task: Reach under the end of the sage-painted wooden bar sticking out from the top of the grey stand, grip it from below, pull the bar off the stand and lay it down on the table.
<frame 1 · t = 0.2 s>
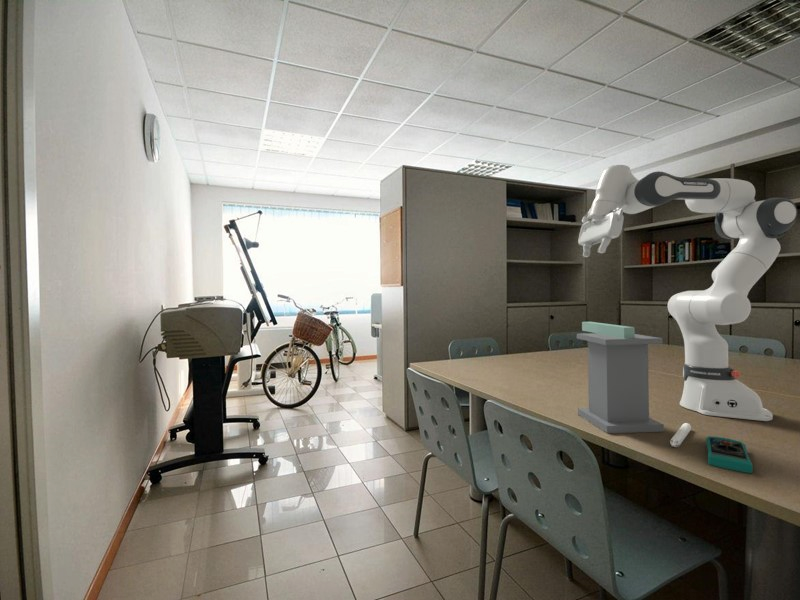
hand: (593, 254, 121), 51 cm above the table, tool tilted 15°, fingers open, 8 cm apart
stand: (617, 422, 110), on the table
bar: (605, 333, 116), point 26 cm above the table, touching stand
white rod: (680, 440, 98), on the table
digital multimeter: (727, 460, 86), on the table
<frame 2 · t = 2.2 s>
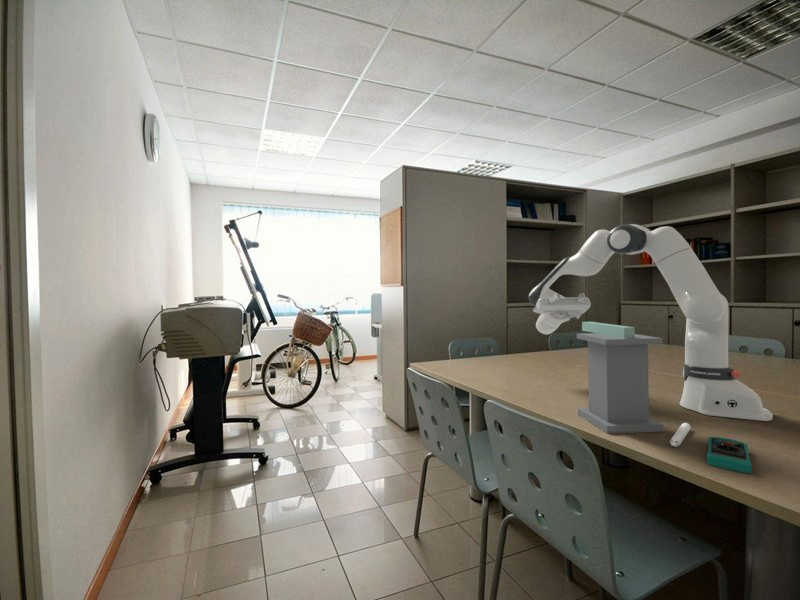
hand: (570, 295, 140), 38 cm above the table, tool pointing upward, fingers open, 8 cm apart
nothing on the table moved.
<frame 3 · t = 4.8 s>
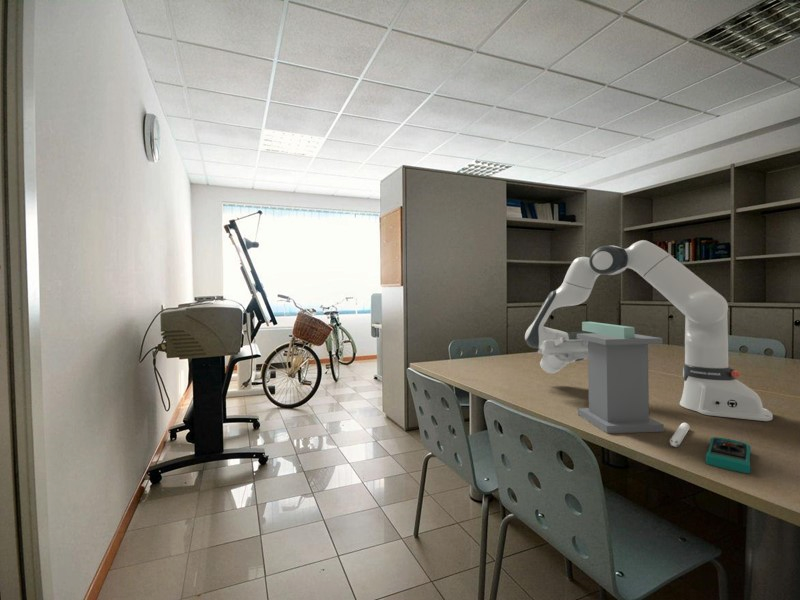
hand: (576, 338, 134), 22 cm above the table, tool pointing upward, fingers open, 8 cm apart
nothing on the table moved.
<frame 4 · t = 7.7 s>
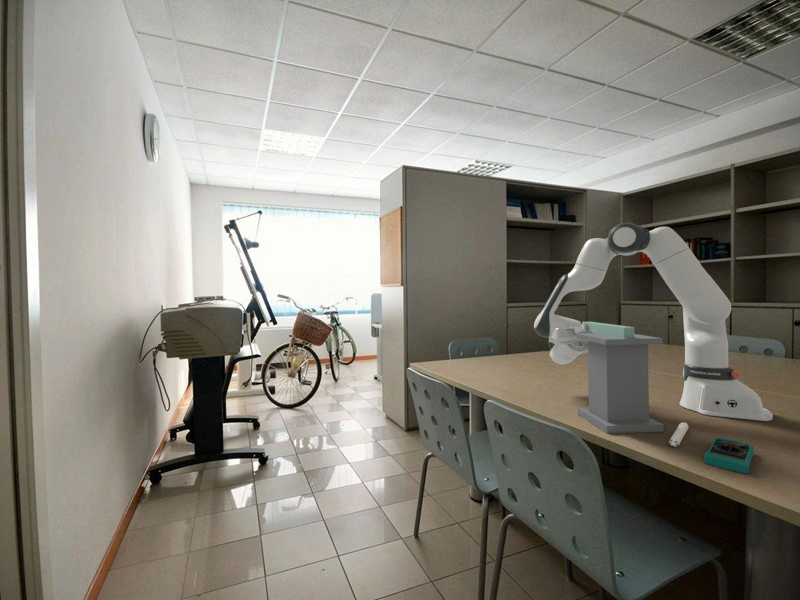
hand: (592, 325, 123), 28 cm above the table, tool pointing upward, fingers closed on bar, 3 cm apart
bar: (605, 333, 116), point 26 cm above the table, touching gripper, stand
everything else where it was.
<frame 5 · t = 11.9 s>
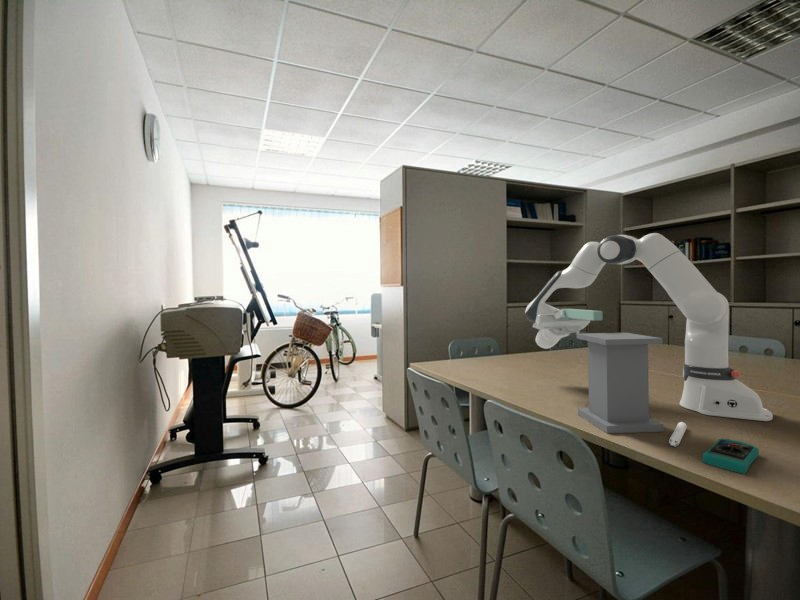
hand: (569, 311, 140), 32 cm above the table, tool pointing upward, fingers closed on bar, 3 cm apart
bar: (580, 318, 132), point 30 cm above the table, touching gripper
when the fingers open (13 cm above the table, at t = 16.2 s): bar drops 8 cm, on the table.
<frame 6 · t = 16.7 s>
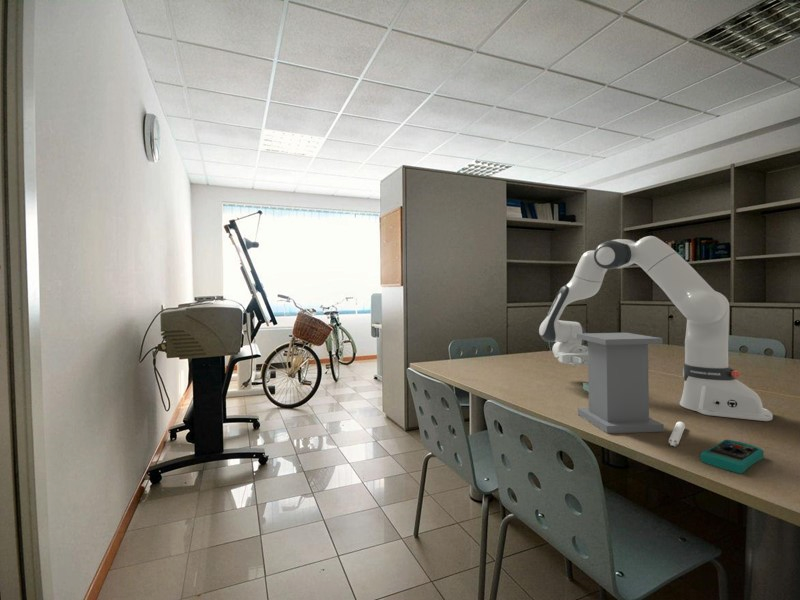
hand: (594, 360, 140), 13 cm above the table, tool horizontal, fingers open, 8 cm apart
bar: (601, 398, 137), on the table
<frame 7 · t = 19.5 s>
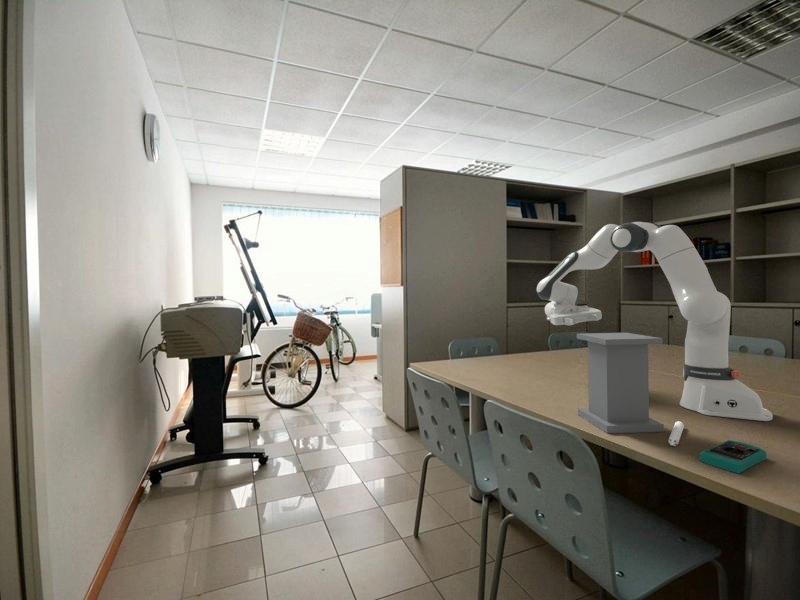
hand: (585, 320, 147), 28 cm above the table, tool horizontal, fingers open, 8 cm apart
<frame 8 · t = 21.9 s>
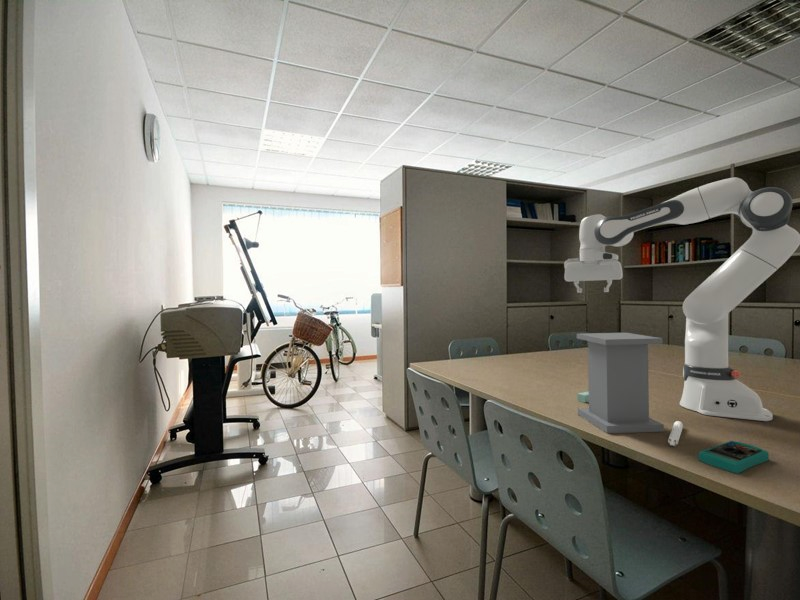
hand: (592, 292, 144), 39 cm above the table, tool pointing down, fingers open, 8 cm apart
at the end: the gripper is holding nothing; bar inside the target area (3.0 cm from its centre), on the table; bar touching table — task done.
